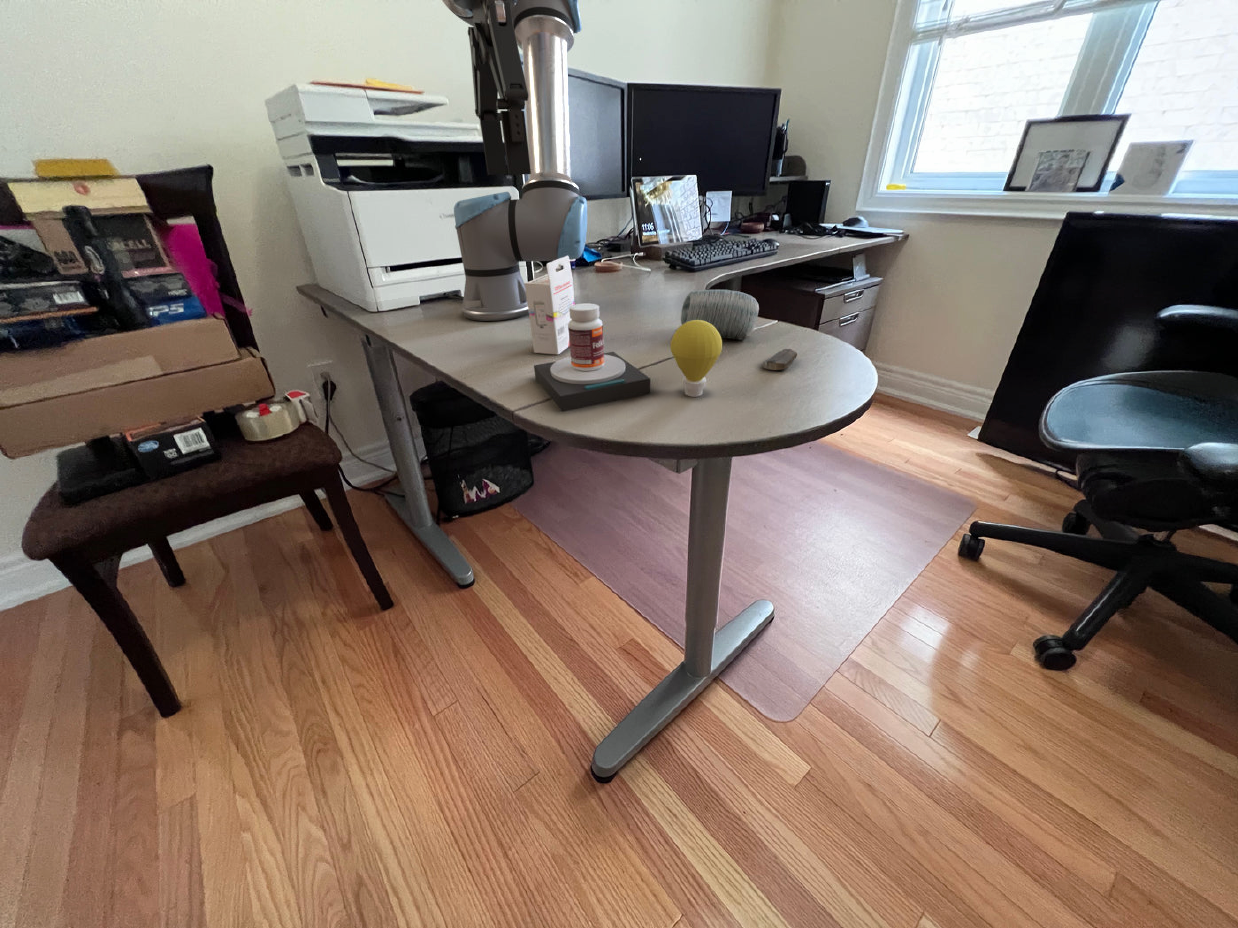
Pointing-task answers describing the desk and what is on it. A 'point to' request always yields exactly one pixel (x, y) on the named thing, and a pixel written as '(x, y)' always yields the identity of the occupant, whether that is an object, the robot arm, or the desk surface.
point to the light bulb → (695, 353)
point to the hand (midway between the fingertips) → (507, 175)
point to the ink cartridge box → (551, 307)
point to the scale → (591, 382)
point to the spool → (722, 311)
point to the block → (780, 360)
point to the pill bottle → (586, 337)
